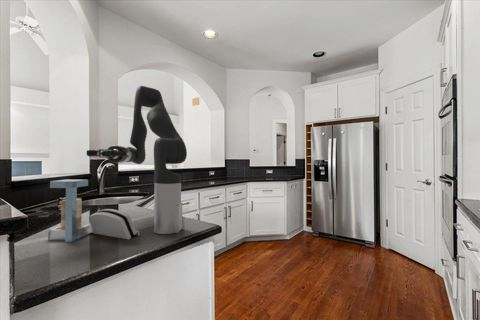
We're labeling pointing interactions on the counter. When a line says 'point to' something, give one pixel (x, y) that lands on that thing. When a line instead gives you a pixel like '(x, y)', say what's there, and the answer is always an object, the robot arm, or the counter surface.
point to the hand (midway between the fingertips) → (99, 152)
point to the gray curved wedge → (112, 224)
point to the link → (78, 213)
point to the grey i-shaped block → (69, 212)
